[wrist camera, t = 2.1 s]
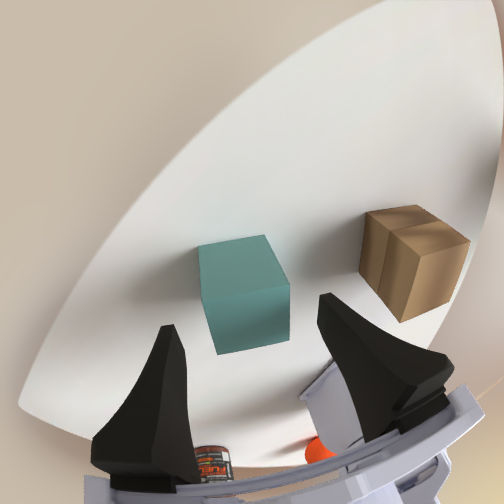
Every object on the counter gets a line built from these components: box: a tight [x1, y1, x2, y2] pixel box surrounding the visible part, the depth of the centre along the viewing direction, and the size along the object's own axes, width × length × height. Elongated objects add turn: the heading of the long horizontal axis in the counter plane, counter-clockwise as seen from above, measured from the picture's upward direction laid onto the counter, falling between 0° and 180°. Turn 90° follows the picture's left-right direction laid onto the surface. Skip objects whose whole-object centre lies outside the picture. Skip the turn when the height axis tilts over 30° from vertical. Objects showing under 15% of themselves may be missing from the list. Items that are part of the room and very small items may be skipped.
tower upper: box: [377, 221, 471, 323], centre depth 15 cm, size 5×5×3 cm
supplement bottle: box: [194, 446, 236, 498], centre depth 29 cm, size 6×6×11 cm
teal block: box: [198, 235, 290, 355], centre depth 15 cm, size 4×4×5 cm
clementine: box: [305, 437, 338, 464], centre depth 37 cm, size 8×7×7 cm
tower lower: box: [359, 205, 441, 294], centre depth 17 cm, size 5×5×3 cm
